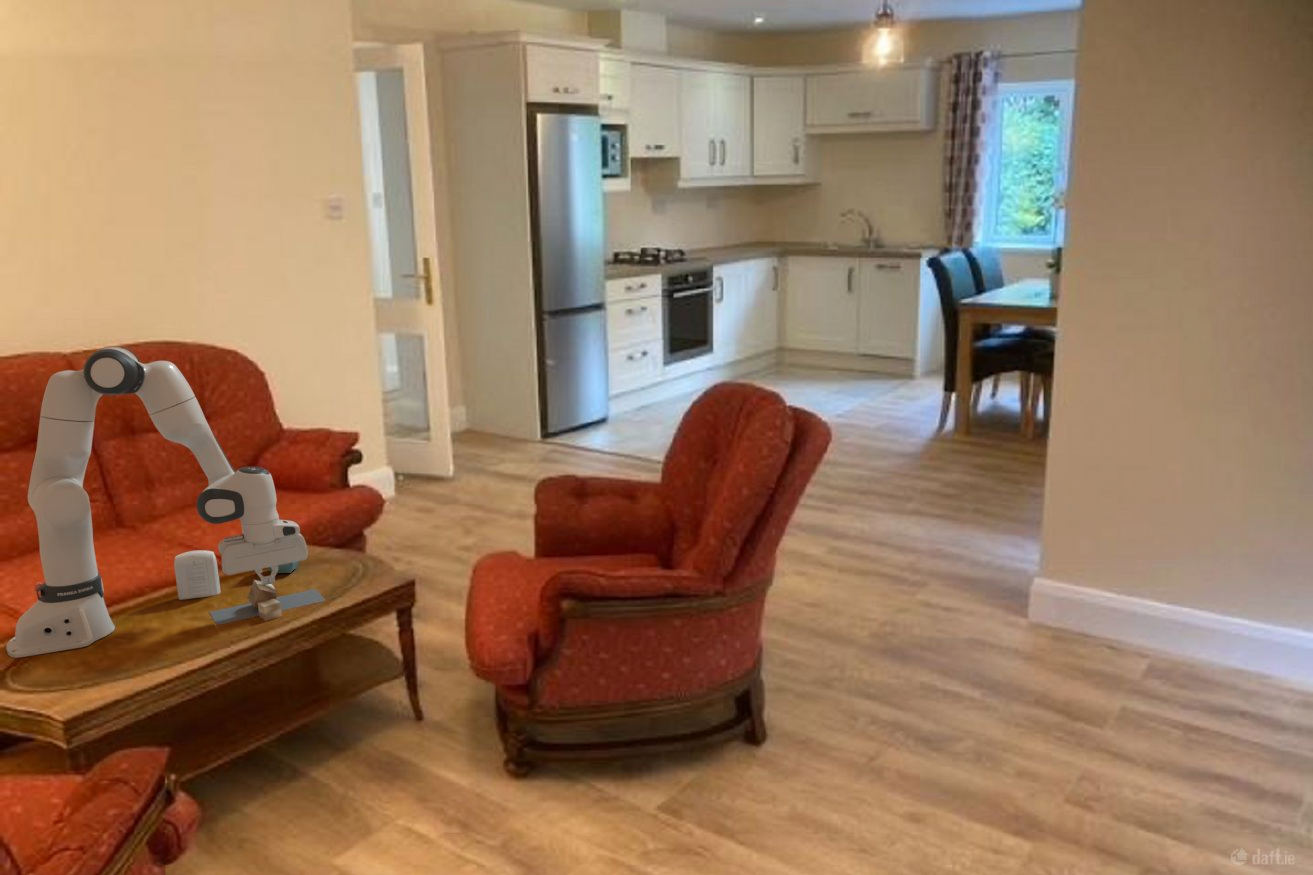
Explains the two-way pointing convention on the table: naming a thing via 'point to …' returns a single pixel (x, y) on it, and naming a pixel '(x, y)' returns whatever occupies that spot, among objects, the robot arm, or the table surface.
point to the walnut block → (261, 593)
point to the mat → (250, 611)
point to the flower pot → (286, 567)
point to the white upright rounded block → (196, 574)
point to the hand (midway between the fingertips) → (268, 583)
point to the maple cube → (269, 609)
